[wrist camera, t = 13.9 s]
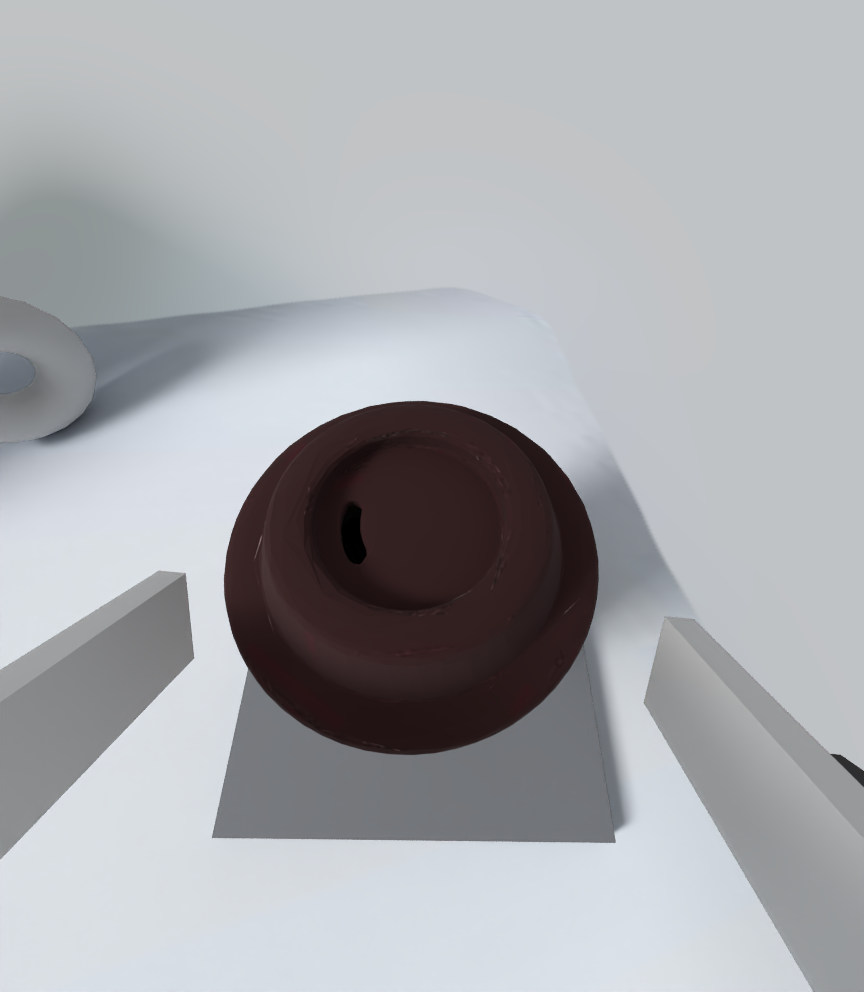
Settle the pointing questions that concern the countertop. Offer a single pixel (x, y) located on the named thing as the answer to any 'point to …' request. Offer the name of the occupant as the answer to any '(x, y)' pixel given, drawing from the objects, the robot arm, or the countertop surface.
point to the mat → (420, 780)
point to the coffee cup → (411, 578)
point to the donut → (43, 373)
